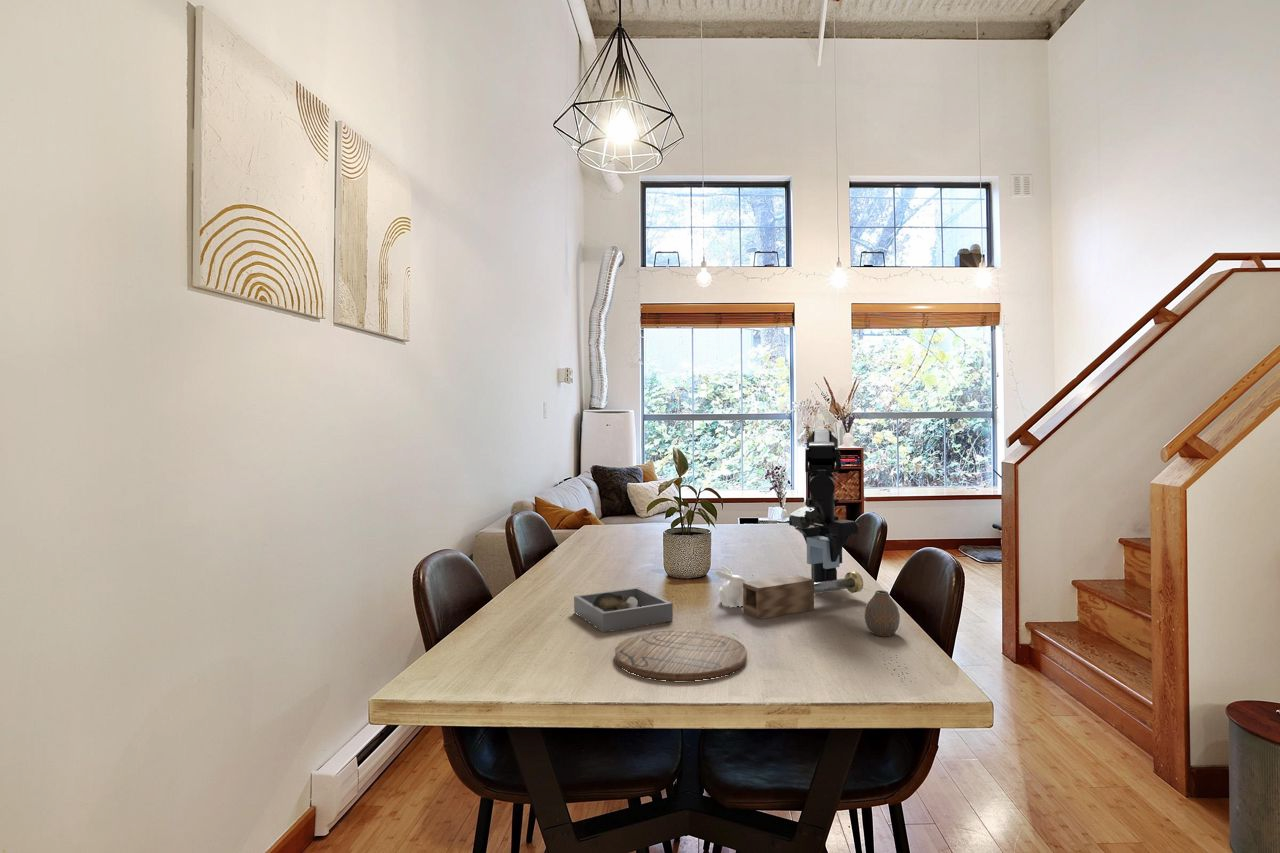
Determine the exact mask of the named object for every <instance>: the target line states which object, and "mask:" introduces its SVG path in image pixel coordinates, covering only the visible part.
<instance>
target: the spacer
mask: <svg viewBox="0 0 1280 853" xmlns="http://www.w3.org/2000/svg"><path fill="white" fill-rule="evenodd" d="M817 563H823V568H825V569H830V568H836V569H837V568H840V564H839V556H838V558H837V560H836V562H832V561H831V556H830V541H829V539H828V538H827V537H823V536H812V537H807V544H806V564H807V565H811V564H817Z"/></svg>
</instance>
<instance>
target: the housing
mask: <svg viewBox="0 0 1280 853" xmlns="http://www.w3.org/2000/svg"><path fill="white" fill-rule="evenodd" d="M742 608H743V610H742V612H744V614H745V613H746V615H748V616H751V617H753V618H755V619H758V620H763V619H767V618H773V617H780V616H785V615H791V614H795V613H797V614H798V613H803V612H808V611H814V610H815V594H814V580H813V579H812V578H809V577H805V576H803V575H799V574H795V575H794V574H793V575H789V576H780V577H774V578H767V579H759V580H753V581H748V582H747V581H746V582H745V583H743V607H742Z"/></svg>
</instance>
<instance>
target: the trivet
mask: <svg viewBox="0 0 1280 853" xmlns="http://www.w3.org/2000/svg"><path fill="white" fill-rule="evenodd" d="M614 653H615V654H614V655H615V658H614V661H616V663H617V664H618V665H619V666H620V667H621V668H623V669H625V670H627V671H628V672H630V673H634V674H636V675H639V676H641V677H644V678H643V679H645V678H651V679H656V680H666V681H695V680H703V679H711V678H716V677H721V676H725V675H729V676H731V675H733V674H734V673H733V672H735V673H737V672H739V671H741V670H742V669H743V668H744V667H745V666H746V665H747V660H746V659H748V655H747V653H748V651H747V649H746V647H745V645H744V644H743V643H741V642H740V641H739V640H737V639H736V638H733V637H731V636H727V635H725V634H720V633H716V632H712V631H705V630H698V629H697V630H696V629H663V630H655V631H653V630H652V631H649V632H644V633H638V634H636V635H633V636H630V637H627V638H626V639H624V640H622V641H620V642H619V643H618V644H617V645H616V647H615V648H614ZM616 663H615V664H616ZM617 664H616V665H617ZM745 664H746V665H745ZM618 665H617V666H618ZM744 665H745V666H744ZM619 666H618V667H619ZM743 666H744V667H743ZM742 667H743V668H742ZM741 668H742V669H741ZM740 669H741V670H740ZM738 670H739V671H738ZM736 671H737V672H736ZM732 673H733V674H732ZM730 674H731V675H730ZM641 677H640V678H641ZM656 680H655V681H656Z"/></svg>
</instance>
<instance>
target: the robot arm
mask: <svg viewBox="0 0 1280 853" xmlns="http://www.w3.org/2000/svg"><path fill="white" fill-rule="evenodd" d="M804 455H805V463H804V464H805V469H804V470H805V473H810V475H809V484H808V490H809V498H806V500H805V505H804V506H802V507H800V508H797V509H796V510H794V511H793V512H790V513H789V518H788V524H789V526H792V527H795V528H794V529H795V530H797V531H798V532H799V533H801V535H802V536H803V540H804V541H805V544H806V545H807V537H812V536H823V537H827V538H828V539H829V541H830V556H831V561H832V562H836V560H837V558H838V556H839V565H841V564H843V547H844V546H845V544H846V542H847V541H848V540H849V537H851V536H853V535H856V534H859V531H860V530H859V524H858V523H857V522H856V521H854V520H848V519H842V520H841V519H840V520H839V516H838V515H835V510H836V509H835V508H836V507H835V504H839V498H835V486H836V485H835V476H834V474H833V473H839V470H841V468H842V458H841V456H842V455H841V452H840V450H839V439H838V437H835V436H834V434H832V429H830V428H815V429H812V434H811V435H810V436H808V437H807V439H806V447H805V454H804ZM810 568H811V570H810V571H811V572H810V573H811V578H810V579H813V580H814V583H818V582H824V581H831V580H837V579H838V570H837V567H836V568H830V569H825V568H823V563H817V564H810Z"/></svg>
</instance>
